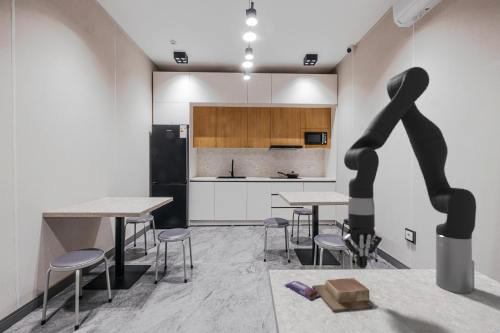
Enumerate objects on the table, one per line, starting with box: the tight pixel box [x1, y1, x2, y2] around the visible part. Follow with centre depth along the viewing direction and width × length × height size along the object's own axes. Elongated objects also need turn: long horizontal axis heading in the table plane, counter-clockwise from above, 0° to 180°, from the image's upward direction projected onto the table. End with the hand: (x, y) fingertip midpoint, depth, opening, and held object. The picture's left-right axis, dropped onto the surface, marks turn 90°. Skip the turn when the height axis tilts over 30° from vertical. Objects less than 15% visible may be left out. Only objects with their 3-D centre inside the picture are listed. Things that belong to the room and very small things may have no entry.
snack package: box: [284, 280, 320, 300], centre depth 79 cm, size 12×2×5 cm
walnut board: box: [311, 284, 373, 313], centre depth 75 cm, size 12×14×1 cm
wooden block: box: [324, 277, 370, 303], centre depth 76 cm, size 3×8×10 cm
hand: (361, 266), depth 76 cm, fingers closed
